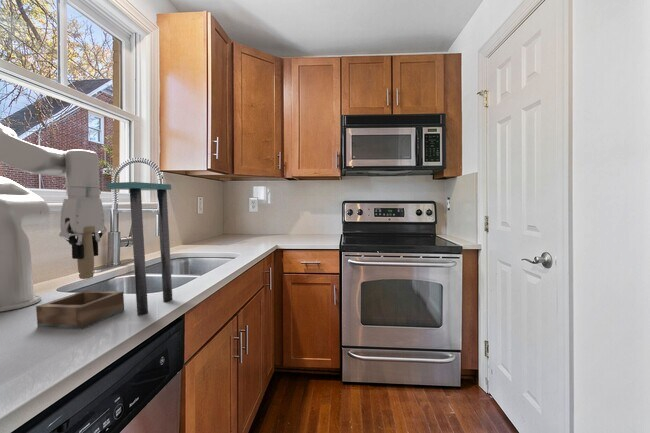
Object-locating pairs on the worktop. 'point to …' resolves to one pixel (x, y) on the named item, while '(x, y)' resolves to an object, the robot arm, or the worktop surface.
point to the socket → (79, 309)
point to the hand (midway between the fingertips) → (85, 256)
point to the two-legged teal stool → (139, 239)
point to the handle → (87, 255)
